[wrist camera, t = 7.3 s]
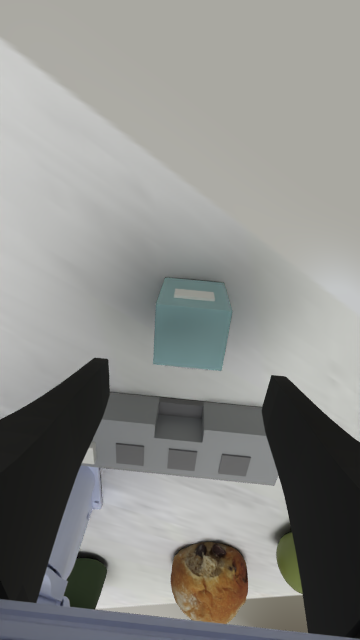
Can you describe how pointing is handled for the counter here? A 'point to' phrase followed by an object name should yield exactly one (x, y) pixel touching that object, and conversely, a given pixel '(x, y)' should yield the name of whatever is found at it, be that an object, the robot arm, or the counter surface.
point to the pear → (288, 562)
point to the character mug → (85, 583)
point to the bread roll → (209, 582)
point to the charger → (191, 324)
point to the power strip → (183, 439)
